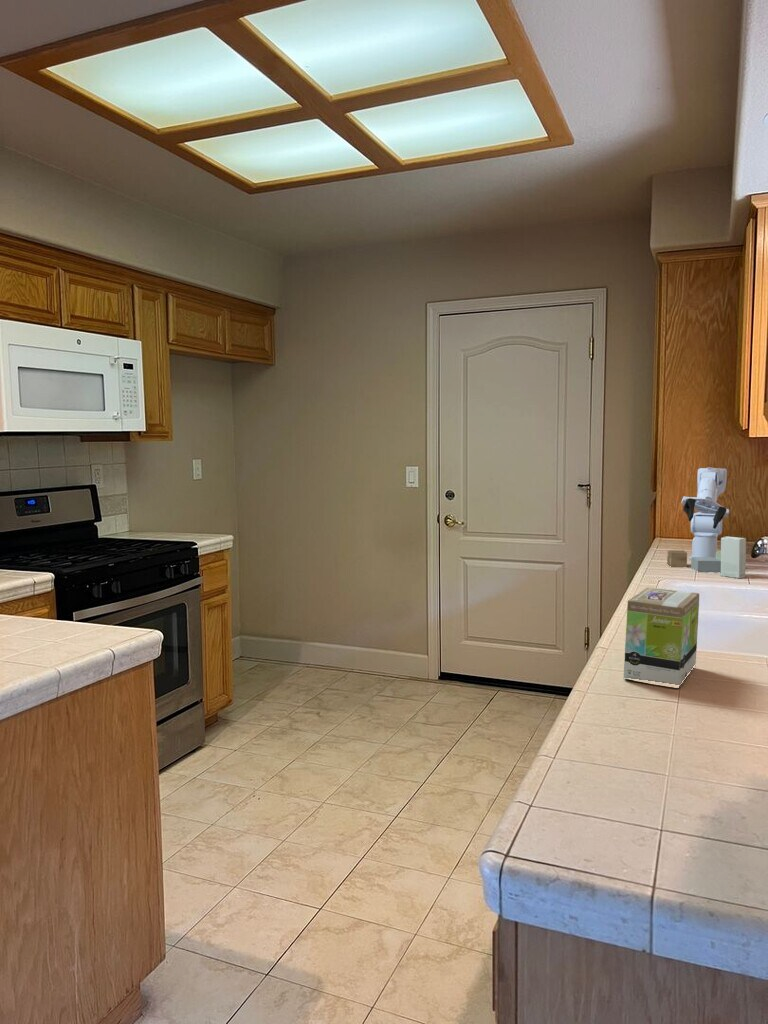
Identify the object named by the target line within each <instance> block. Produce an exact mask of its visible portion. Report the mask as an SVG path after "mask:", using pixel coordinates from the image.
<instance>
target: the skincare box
mask: <svg viewBox="0 0 768 1024" xmlns="http://www.w3.org/2000/svg"><path fill="white" fill-rule="evenodd" d="M720 552H721V573H720V576H721V577H726V576H727V578H733V579H734V578H736V579H742V578H746V570H747V569H746V568H747V567H746V563H747V562H746V561H747V554H746V552H747V538H746V537H736V536H727V535H726V536H723V537H721V538H720Z"/></svg>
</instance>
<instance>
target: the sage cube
mask: <svg viewBox="0 0 768 1024" xmlns="http://www.w3.org/2000/svg"><path fill="white" fill-rule="evenodd" d="M716 559H718V560H720V561H721V551H717V552H716Z"/></svg>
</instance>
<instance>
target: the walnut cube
mask: <svg viewBox="0 0 768 1024" xmlns="http://www.w3.org/2000/svg"><path fill="white" fill-rule="evenodd" d="M666 556H667V561H666V565H667V564H668V565H669V566H668V565H667V566H668V567H670V566H671V567H670V568H684V567H688V552H687V551H685V550H683V549H679V550H678V549H675V550H673V549H668V550H667V555H666Z"/></svg>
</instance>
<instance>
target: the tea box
mask: <svg viewBox="0 0 768 1024" xmlns="http://www.w3.org/2000/svg"><path fill="white" fill-rule="evenodd" d="M626 610H627V611H626V627H625V645H624V663H623V664H624V665H623V679H624V678H631V679H639V680H648V681H655V682H662V683H669V684H675V685H680V684H681V683H682V681H683V680H684V679H685V677H686V676H687V674H688V673H689V672H690V671H691V669H692V668H693V666H694V665H695V664H697V649H698V647H697V646H698V628H699V611H700V593H698V592H691V591H682V590H673V589H665V588H664V589H663V588H657V587H656V588H655V587H646V588H645V589H643V590H641V591H640V592H638V593H637V594H636V595H634V596H633V597H631V598H629V599H628V600H627V608H626ZM695 666H696V665H695Z"/></svg>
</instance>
